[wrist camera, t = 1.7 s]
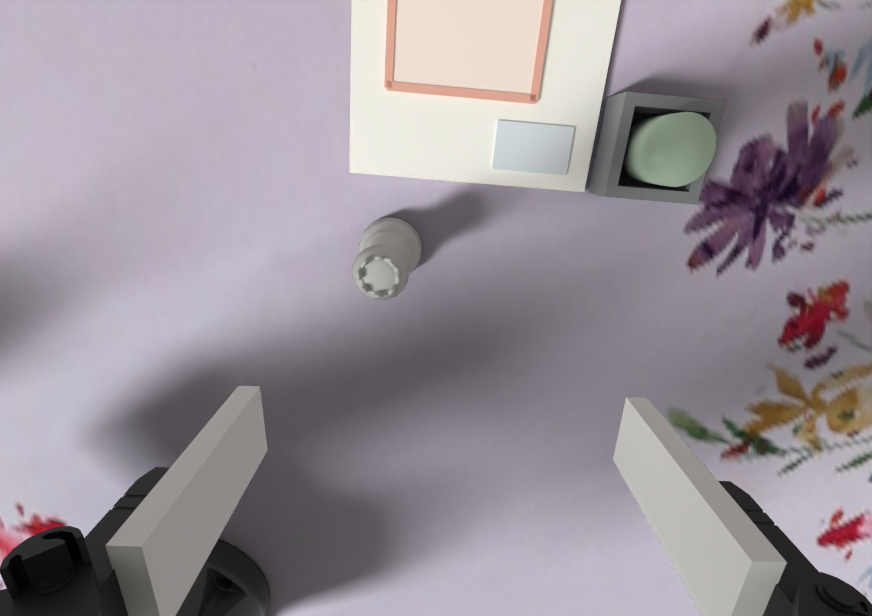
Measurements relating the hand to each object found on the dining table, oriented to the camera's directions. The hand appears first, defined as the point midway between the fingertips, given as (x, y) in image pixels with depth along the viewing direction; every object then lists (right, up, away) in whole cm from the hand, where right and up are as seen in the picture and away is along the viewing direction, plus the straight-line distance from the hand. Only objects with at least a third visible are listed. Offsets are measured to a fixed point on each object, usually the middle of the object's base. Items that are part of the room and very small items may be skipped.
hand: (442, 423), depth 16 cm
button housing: (+14, +15, +14) cm, 24 cm away
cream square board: (+3, +20, +12) cm, 24 cm away
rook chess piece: (-3, +9, +16) cm, 19 cm away
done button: (+14, +14, +12) cm, 23 cm away
